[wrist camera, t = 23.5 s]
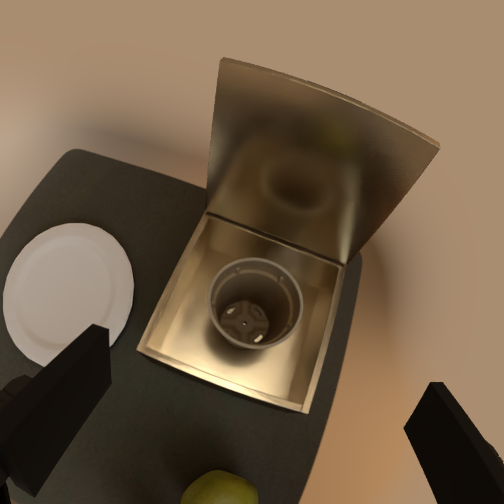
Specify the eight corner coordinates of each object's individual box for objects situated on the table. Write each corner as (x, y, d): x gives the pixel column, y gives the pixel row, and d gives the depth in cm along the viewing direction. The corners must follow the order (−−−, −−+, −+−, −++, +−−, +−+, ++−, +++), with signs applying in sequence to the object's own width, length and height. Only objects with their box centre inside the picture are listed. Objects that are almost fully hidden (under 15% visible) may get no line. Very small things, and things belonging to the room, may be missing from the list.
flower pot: (225, 276, 39) (231, 242, 32) (292, 305, 39) (314, 279, 31) (192, 341, 34) (190, 322, 27) (265, 373, 34) (284, 363, 26)
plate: (-12, 322, 30) (-18, 318, 28) (54, 210, 40) (51, 204, 39) (94, 401, 29) (89, 400, 28) (163, 260, 40) (161, 254, 38)
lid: (440, 148, 18) (432, 119, 21) (219, 60, 19) (241, 44, 21) (347, 264, 34) (352, 234, 36) (204, 210, 34) (219, 183, 37)
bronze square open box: (286, 412, 33) (308, 414, 26) (149, 361, 33) (135, 349, 26) (323, 288, 41) (346, 263, 35) (204, 243, 42) (205, 209, 35)
